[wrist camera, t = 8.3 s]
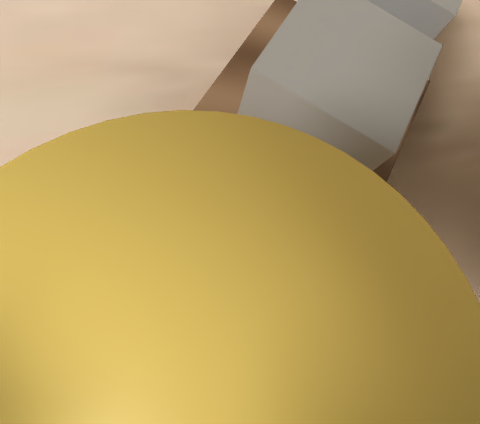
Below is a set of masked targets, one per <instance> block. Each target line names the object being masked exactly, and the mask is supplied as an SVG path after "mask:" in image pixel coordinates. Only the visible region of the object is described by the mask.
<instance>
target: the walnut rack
mask: <svg viewBox="0 0 480 424" xmlns="http://www.w3.org/2000/svg"><path fill="white" fill-rule="evenodd" d="M296 3H297V2H296V1H294V0H275V1H274V2H273V4H272V5H271V6H270V8H269V9H268V10H267V12H266V13H265V14H264V16H263V17H262V18H261V20H260V21H259V22H258V24H257V25H256V26H255V28H254V29H253V31H252V32H251V33H250V35H249V36H248V37H247V39H246V40H245V41H244V43H243V44H242V45H241V47H240V48H239V49H238V51H237V52H236V53H235V55H234V56H233V58H232V59H231V60H230V62H229V63H228V64H227V66H226V67H225V68H224V70H223V71H222V72H221V74H220V75H219V76H218V78H217V79H216V80H215V82H214V83H213V84H212V86H211V87H210V89H209V90H208V91H207V93H206V94H205V95H204V97H203V98H202V99H201V101H200V102H199V103H198V105H197V106H196V107H195V109H194V111H218V112H225V113H232V114H238V110H239V107H240V103H241V100H242V97H243V93H244V90H245V86H246V83H247V79H248V76H249V73H250V69H251V67H252V66H253V64H254V63H255V61H256V60H257V59H258V57H259V56H260V54H261V53H262V51H263V50H264V49H265V47H266V46H267V44H268V43H269V41H270V40H271V39H272V37H273V36H274V34H275V33H276V31H277V30H278V29H279V27H280V26H281V24H282V23H283V22H284V20H285V19H286V17H287V16H288V14H289V13H290V12H291V10H292V9H293V7H294V6H295V4H296ZM429 82H430V81H429V80H427V82H426V85H425V87H424V89H423V92H422V94H421V96H420V98H419V101H418V103H417V105H416V108H415V110H414V112H413V114H412V117H411V119H410V121H409V124H408V126H407V128H406V131H405V133H404V135H403V137H402V140H401V142H400V144H399V147H398V149H397V151H396V153H395V154H394V155H393V156H391V157H390V158H389V159H388V160H386V161H385V162H384V163H382V164H381V165H380V166H378V167H377V168H376V169H374V170H373V172H375V173H376V174H377V175H378V176H379V177H381V178H382V179H383V180H384V181H385V182H387V179H388V177H389V175H390V172H391V170H392V168H393V166H394V163H395V161H396V159H397V156H398V154H399V152H400V149H401V147H402V145H403V142H404V140H405V138H406V135H407V133H408V131H409V129H410V126H411V124H412V122H413V119H414V117H415V115H416V112H417V110H418V108H419V105H420V103H421V101H422V98H423V96H424V94H425V91H426V89H427V87H428V85H429Z"/></svg>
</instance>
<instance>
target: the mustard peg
mask: <svg viewBox="0 0 480 424" xmlns="http://www.w3.org/2000/svg"><path fill="white" fill-rule="evenodd" d="M0 424H480V304H479V302H478V300H477V298H476V296H475V294H474V292H473V290H472V288H471V286H470V284H469V282H468V280H467V278H466V277H465V275H464V274H463V272H462V271H461V269H460V267H459V266H458V264H457V263H456V261H455V259H454V258H453V256H452V255H451V253H450V252H449V250H448V248H447V247H446V246H445V244H444V243H443V242H442V241H441V239H440V238H439V237H438V236H437V234H436V233H435V232H434V230H433V229H432V228H431V227H430V225H429V224H428V223H427V222H426V220H425V219H424V218H423V217H422V216H421V215H420V214H419V213H418V212H417V211H416V210H415V209H414V208H413V207H412V206H411V205H410V204H409V203H408V201H407V200H406V199H405V198H404V197H403V196H402V195H401V194H400V193H399V192H397V191H396V190H395V189H394V188H393V187H391V186H390V185H389V184H388V183H387V182H385V181H384V180H383V179H382V178H381V177H379V176H378V175H377V174H376V173H375V172H373V171H372V170H370V169H369V168H367V167H366V166H364V165H363V164H361V163H360V162H358V161H357V160H355V159H354V158H352V157H351V156H349V155H348V154H346V153H345V152H343V151H341V150H339V149H337V148H335V147H333V146H331V145H330V144H328V143H326V142H324V141H322V140H320V139H318V138H316V137H314V136H311V135H309V134H306V133H304V132H301V131H298V130H296V129H293V128H291V127H288V126H285V125H282V124H279V123H275V122H271V121H267V120H263V119H260V118H256V117H252V116H246V115H239V114H232V113H225V112H218V111H194V110H176V111H164V112H152V113H143V114H137V115H132V116H127V117H122V118H117V119H112V120H107V121H104V122H101V123H98V124H94V125H91V126H88V127H85V128H82V129H79V130H75V131H72V132H69V133H67V134H64V135H62V136H60V137H58V138H55V139H53V140H51V141H49V142H46V143H44V144H42V145H40V146H37V147H35V148H33V149H31V150H29V151H27V152H25V153H24V154H22V155H20V156H19V157H17V158H15V159H13V160H12V161H10V162H8V163H7V164H5V165H3V166H1V167H0Z"/></svg>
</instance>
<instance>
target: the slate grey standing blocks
mask: <svg viewBox="0 0 480 424" xmlns="http://www.w3.org/2000/svg"><path fill="white" fill-rule="evenodd" d="M461 2H462V0H298V2H297V3H296V4H295V6H294V7H293V9H292V10H291V12H290V13H289V14H288V16H287V17H286V19H285V20H284V22H283V23H282V24H281V26H280V27H279V29H278V30H277V31H276V33H275V34H274V36H273V37H272V39H271V40H270V41H269V43H268V44H267V46H266V47H265V49H264V50H263V51H262V53H261V54H260V56H259V57H258V59H257V60H256V61H255V63H254V64H253V66H252V67H251V69H250V73H249V76H248V79H247V83H246V86H245V90H244V93H243V97H242V100H241V103H240V107H239V110H238V114H239V115H246V116H252V117H256V118H260V119H263V120H267V121H271V122H275V123H279V124H282V125H285V126H288V127H291V128H293V129H296V130H298V131H301V132H304V133H306V134H309V135H311V136H314V137H316V138H318V139H320V140H322V141H324V142H326V143H328V144H330V145H331V146H333V147H335V148H337V149H339V150H341V151H343V152H345V153H346V154H348V155H349V156H351V157H352V158H354V159H355V160H357V161H358V162H360V163H361V164H363V165H364V166H366V167H367V168H369V169H370V170H372V171H373V170H374V169H376V168H377V167H378V166H380V165H381V164H382V163H384V162H385V161H386V160H388V159H389V158H390V157H391V156H393V155H394V154H395V153H396V151H397V149H398V147H399V144H400V142H401V140H402V137H403V135H404V133H405V131H406V128H407V126H408V124H409V121H410V119H411V117H412V114H413V112H414V110H415V108H416V105H417V103H418V101H419V98H420V96H421V94H422V92H423V89H424V87H425V85H426V82H427V80H428V78H429V76H430V73H431V71H432V69H433V66H434V64H435V62H436V59H437V57H438V55H439V53H440V50H441V48H442V46H443V45H442V44H440V43H439V42H437V41H435V40H434V39H435V37H436V36H437V35H438V34H439V33H440V32H441V31H442V30H443V29H444V28H445V27H446V25H447V24H448V23H449V22H450V21H451V20H452V19H453V18H454V17H455V16H456V14H457V11H458V9H459V7H460V4H461Z"/></svg>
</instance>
